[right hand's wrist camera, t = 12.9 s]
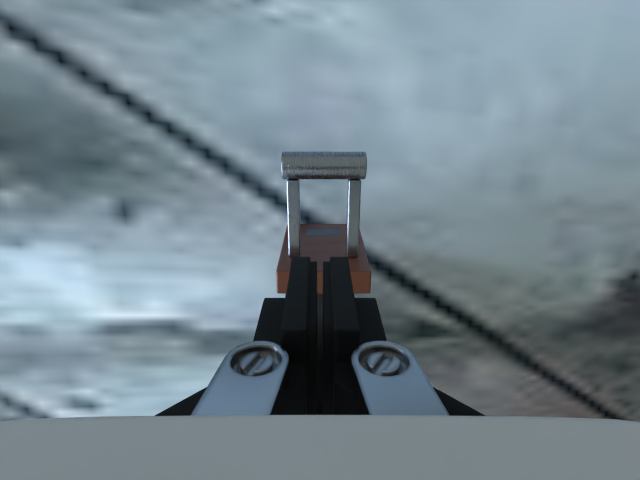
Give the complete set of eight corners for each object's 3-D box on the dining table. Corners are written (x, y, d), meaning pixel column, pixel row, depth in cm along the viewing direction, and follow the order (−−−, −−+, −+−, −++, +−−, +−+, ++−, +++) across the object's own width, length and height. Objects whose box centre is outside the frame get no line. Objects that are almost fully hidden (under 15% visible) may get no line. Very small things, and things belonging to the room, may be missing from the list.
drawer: (284, 138, 24) (271, 158, 18) (361, 138, 24) (377, 159, 18) (292, 415, 32) (285, 504, 25) (351, 415, 32) (359, 504, 25)
